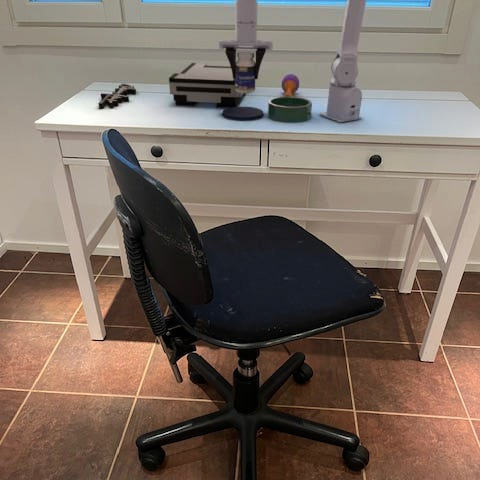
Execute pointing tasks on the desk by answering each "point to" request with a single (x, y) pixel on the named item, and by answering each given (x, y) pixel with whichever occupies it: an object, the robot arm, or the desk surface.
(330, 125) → the desk surface
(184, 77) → the game console
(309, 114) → the ring
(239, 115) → the navy blue disc
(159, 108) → the desk surface
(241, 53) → the pill bottle
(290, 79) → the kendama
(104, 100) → the dark jagged flat part
